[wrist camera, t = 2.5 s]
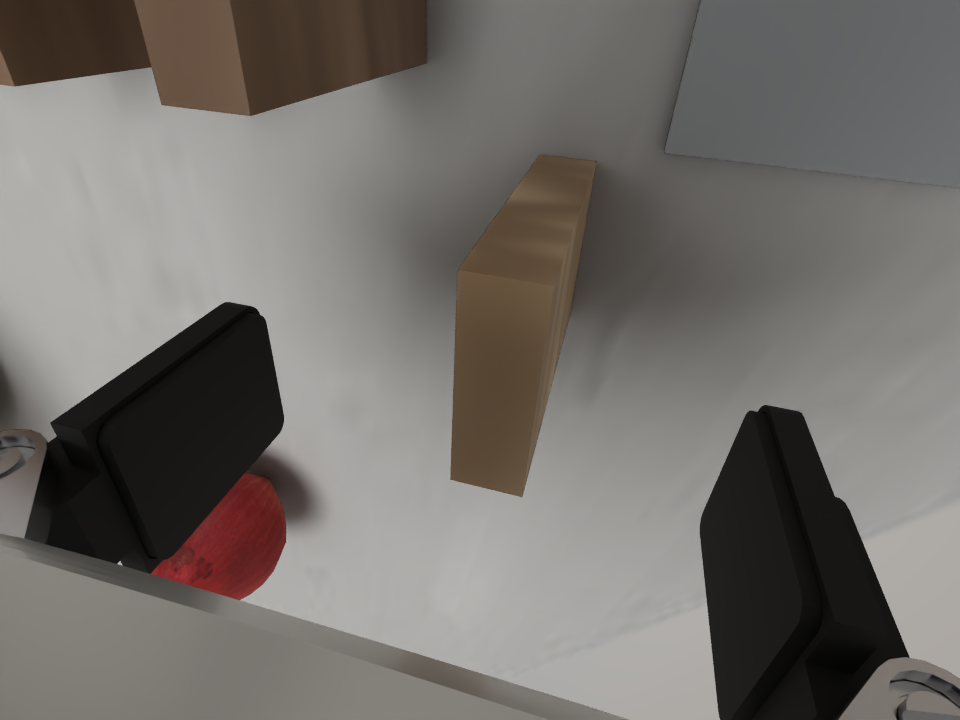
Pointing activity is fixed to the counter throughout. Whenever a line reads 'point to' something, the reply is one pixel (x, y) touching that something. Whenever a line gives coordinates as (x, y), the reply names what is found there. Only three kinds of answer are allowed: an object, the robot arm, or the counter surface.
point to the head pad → (825, 87)
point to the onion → (233, 542)
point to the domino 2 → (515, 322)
